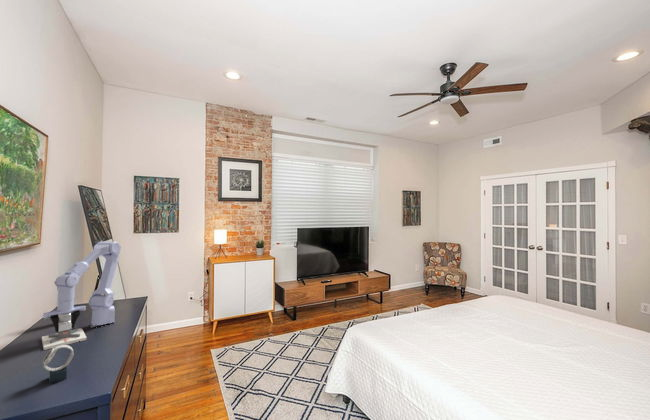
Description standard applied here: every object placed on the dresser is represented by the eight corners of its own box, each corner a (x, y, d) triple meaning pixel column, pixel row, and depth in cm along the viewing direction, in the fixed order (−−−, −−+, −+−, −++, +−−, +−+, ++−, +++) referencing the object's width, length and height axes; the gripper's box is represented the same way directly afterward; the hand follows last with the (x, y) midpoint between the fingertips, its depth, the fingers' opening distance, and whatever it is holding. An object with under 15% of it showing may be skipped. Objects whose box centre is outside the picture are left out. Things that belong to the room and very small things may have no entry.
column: (70, 333, 132) (70, 320, 132) (71, 336, 129) (71, 322, 129) (57, 336, 129) (57, 323, 129) (58, 339, 126) (58, 325, 126)
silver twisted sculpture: (77, 320, 153) (78, 284, 153) (62, 325, 146) (63, 286, 147) (69, 319, 155) (71, 283, 156) (54, 323, 148) (56, 285, 149)
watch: (41, 379, 97) (43, 347, 97) (72, 370, 102) (73, 340, 103) (40, 386, 93) (42, 353, 93) (73, 377, 98) (74, 345, 99)
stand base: (81, 330, 139) (81, 321, 140) (86, 339, 129) (87, 330, 129) (41, 339, 129) (42, 329, 129) (43, 350, 118) (44, 339, 118)
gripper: (83, 295, 138) (82, 322, 137) (42, 302, 126) (40, 332, 126) (87, 297, 134) (86, 326, 133) (45, 305, 122) (44, 336, 121)
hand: (64, 329), depth 129 cm, fingers closed on column, 5 cm apart
